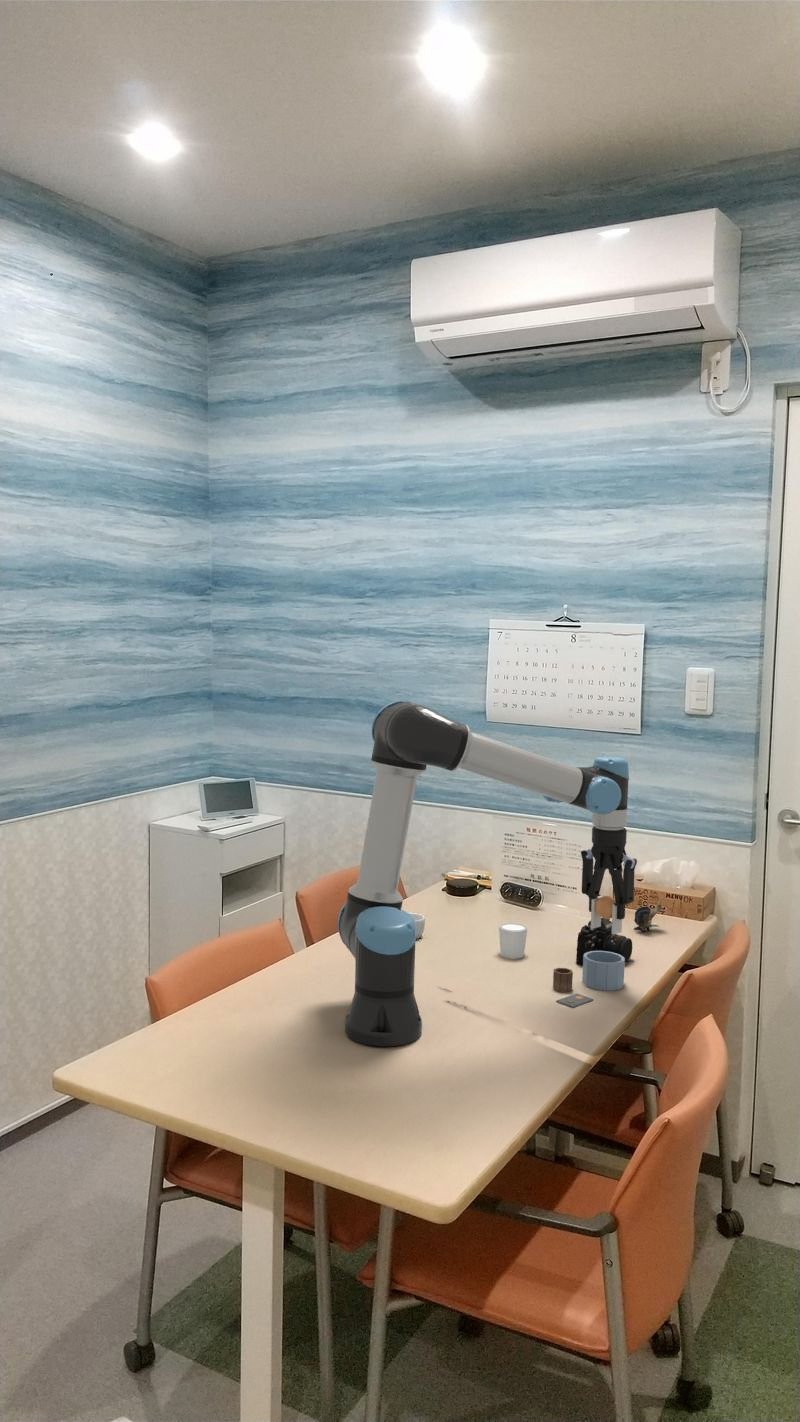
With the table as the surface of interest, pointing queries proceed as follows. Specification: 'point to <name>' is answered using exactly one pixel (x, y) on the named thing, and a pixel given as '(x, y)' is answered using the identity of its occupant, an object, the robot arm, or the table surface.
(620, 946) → the film camera
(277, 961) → the table surface
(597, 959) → the tube
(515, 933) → the white cylinder
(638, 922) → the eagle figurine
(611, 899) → the ball
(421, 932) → the teacup
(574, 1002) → the card
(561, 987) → the tube
